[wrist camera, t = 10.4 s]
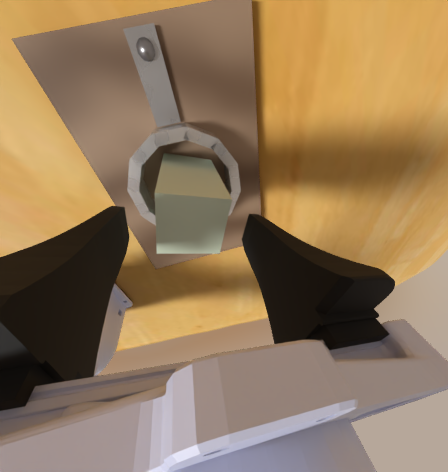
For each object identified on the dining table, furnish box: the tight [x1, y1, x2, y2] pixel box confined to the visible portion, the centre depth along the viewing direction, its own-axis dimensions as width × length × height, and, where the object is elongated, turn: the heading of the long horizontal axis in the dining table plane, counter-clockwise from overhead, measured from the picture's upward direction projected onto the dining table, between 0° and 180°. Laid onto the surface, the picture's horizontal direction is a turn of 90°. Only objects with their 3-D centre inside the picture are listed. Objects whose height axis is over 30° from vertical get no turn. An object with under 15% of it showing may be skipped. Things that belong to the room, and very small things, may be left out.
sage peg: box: [155, 153, 232, 254], centre depth 14 cm, size 4×4×8 cm
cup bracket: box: [12, 0, 261, 269], centre depth 16 cm, size 20×14×4 cm
